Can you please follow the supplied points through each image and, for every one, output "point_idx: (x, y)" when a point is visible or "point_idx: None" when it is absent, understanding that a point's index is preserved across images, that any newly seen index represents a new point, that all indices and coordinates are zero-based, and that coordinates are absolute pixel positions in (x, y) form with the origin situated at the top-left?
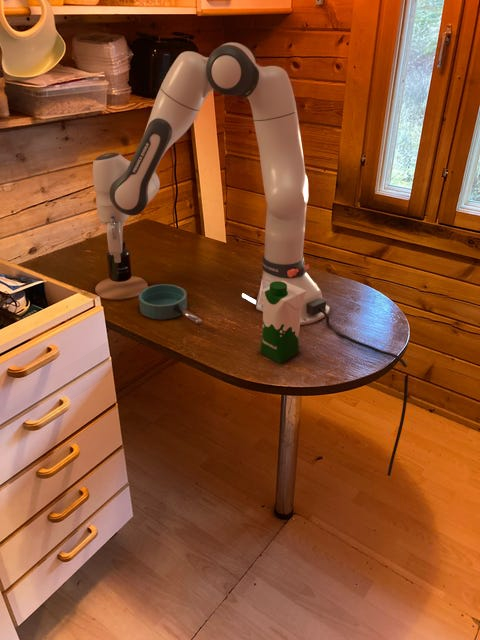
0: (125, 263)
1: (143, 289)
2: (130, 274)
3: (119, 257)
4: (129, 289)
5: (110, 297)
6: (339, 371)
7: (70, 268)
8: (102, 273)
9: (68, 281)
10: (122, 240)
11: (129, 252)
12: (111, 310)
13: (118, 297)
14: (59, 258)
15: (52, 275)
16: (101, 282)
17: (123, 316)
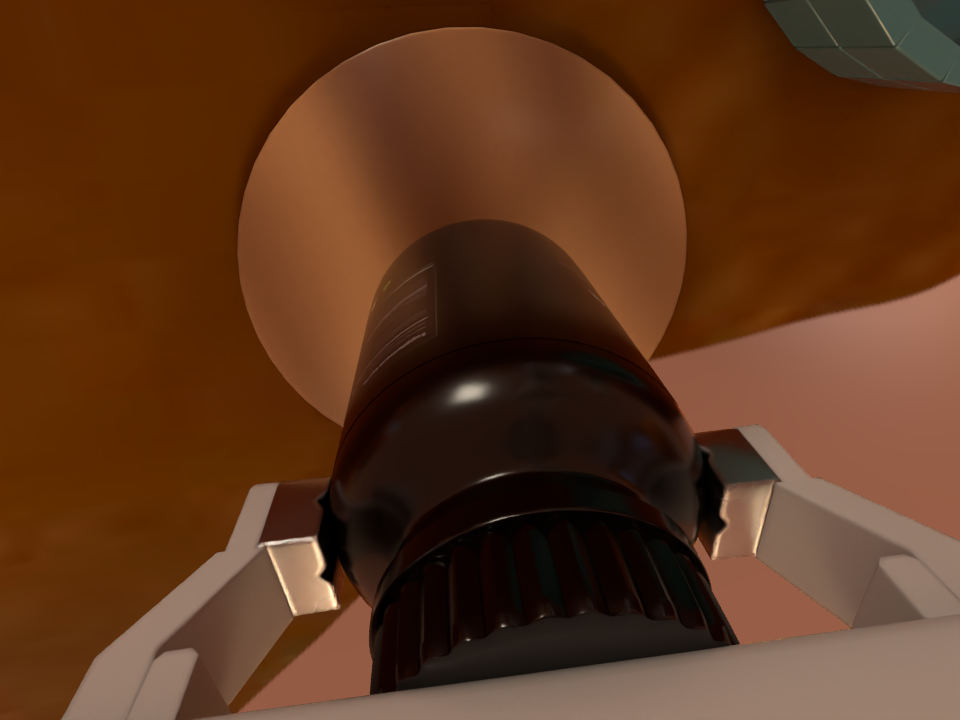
0: (632, 343)
1: (896, 42)
2: (529, 234)
3: (799, 483)
4: (535, 213)
5: (650, 342)
6: None
7: None
8: (200, 451)
9: (353, 596)
10: (738, 714)
11: (516, 353)
12: (809, 307)
13: (664, 286)
14: (22, 697)
15: (277, 671)
16: None
17: (933, 214)
